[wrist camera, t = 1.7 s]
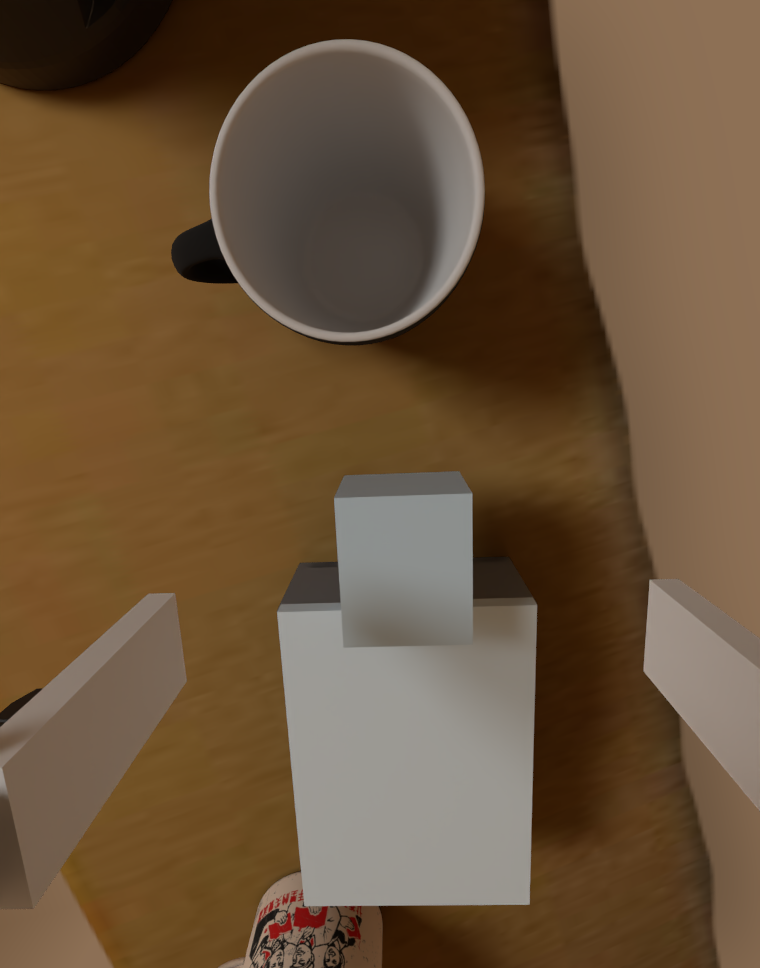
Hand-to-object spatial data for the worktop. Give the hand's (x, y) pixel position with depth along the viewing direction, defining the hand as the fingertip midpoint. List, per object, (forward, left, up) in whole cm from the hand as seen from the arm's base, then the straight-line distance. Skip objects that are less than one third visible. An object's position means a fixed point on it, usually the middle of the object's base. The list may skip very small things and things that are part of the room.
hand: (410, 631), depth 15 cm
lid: (+9, 0, -10) cm, 13 cm away
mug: (-12, -3, -15) cm, 20 cm away
